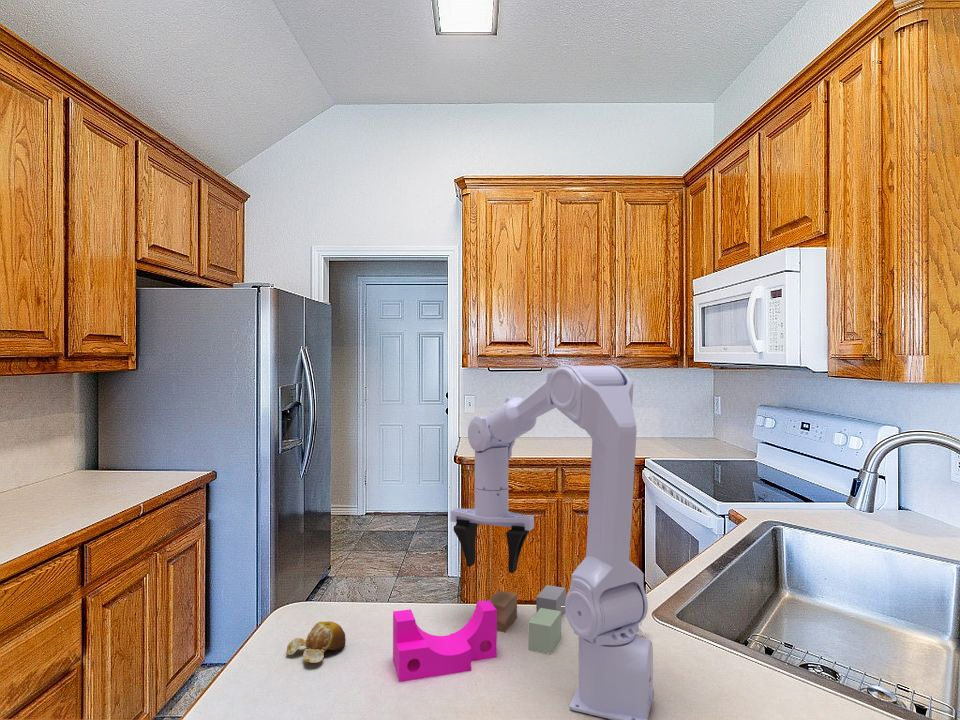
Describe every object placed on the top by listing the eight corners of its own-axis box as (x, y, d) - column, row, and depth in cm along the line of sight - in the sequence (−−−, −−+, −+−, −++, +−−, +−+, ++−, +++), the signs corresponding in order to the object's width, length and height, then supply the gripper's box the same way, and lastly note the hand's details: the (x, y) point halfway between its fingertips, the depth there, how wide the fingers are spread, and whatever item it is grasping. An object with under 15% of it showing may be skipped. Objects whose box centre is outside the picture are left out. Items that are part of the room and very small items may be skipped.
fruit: (280, 649, 89) (281, 625, 90) (326, 634, 96) (328, 611, 96) (310, 667, 84) (311, 641, 84) (357, 650, 90) (359, 625, 90)
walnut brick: (517, 619, 102) (517, 593, 102) (504, 634, 96) (504, 606, 96) (498, 616, 103) (498, 590, 103) (484, 630, 97) (484, 603, 98)
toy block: (399, 683, 81) (399, 629, 81) (392, 661, 87) (393, 611, 87) (501, 668, 86) (501, 616, 86) (489, 648, 92) (489, 600, 92)
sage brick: (561, 639, 94) (561, 611, 94) (550, 656, 89) (550, 626, 89) (540, 635, 96) (540, 607, 96) (528, 651, 90) (528, 622, 90)
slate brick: (565, 613, 104) (565, 587, 104) (556, 627, 99) (556, 600, 99) (546, 610, 106) (546, 585, 106) (536, 623, 100) (536, 597, 100)
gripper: (539, 486, 100) (539, 566, 100) (462, 479, 106) (462, 555, 106) (526, 494, 94) (526, 580, 94) (445, 487, 99) (444, 567, 99)
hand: (491, 567), depth 99 cm, fingers open, 7 cm apart
